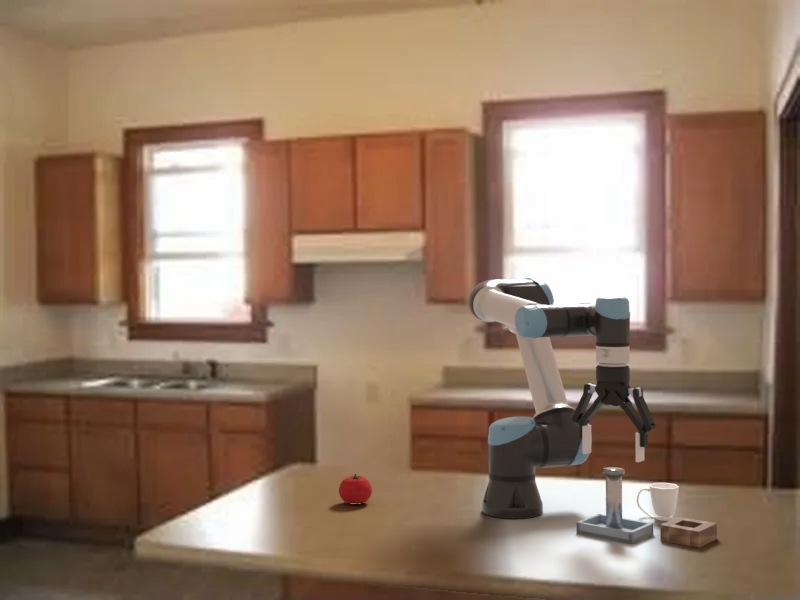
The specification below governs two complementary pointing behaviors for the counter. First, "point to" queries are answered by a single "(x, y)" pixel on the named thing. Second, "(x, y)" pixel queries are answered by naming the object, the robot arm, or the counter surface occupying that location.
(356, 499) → the tomato
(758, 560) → the counter surface
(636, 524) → the tray
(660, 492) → the cup
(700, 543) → the socket block
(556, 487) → the counter surface
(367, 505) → the counter surface
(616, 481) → the pin
